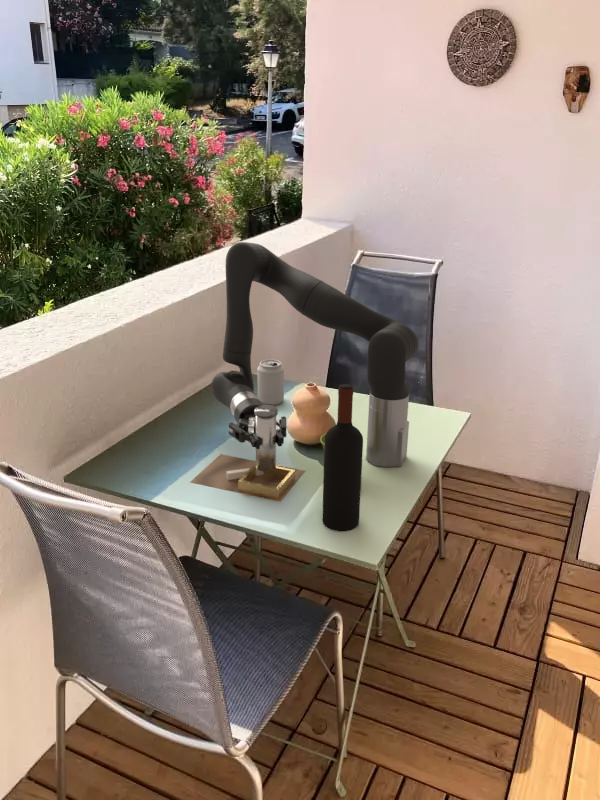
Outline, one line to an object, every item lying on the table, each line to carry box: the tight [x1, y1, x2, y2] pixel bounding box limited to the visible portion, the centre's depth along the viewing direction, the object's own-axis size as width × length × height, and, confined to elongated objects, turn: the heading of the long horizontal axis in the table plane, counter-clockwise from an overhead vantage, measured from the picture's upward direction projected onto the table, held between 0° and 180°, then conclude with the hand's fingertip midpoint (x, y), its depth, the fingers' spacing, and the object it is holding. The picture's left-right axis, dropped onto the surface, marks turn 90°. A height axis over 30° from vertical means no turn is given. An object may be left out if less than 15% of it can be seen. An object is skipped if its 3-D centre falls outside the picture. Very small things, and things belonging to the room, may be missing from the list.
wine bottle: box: [321, 383, 364, 533], centre depth 144 cm, size 8×8×30 cm
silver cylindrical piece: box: [254, 404, 279, 471], centre depth 157 cm, size 5×5×14 cm
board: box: [189, 454, 306, 503], centre depth 165 cm, size 22×15×1 cm
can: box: [256, 358, 285, 406], centre depth 206 cm, size 8×8×12 cm
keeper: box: [238, 463, 295, 499], centre depth 161 cm, size 10×10×2 cm
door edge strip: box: [226, 463, 284, 480], centre depth 165 cm, size 1×13×2 cm, turn 108°
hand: (269, 443), depth 155 cm, fingers closed on silver cylindrical piece, 4 cm apart
